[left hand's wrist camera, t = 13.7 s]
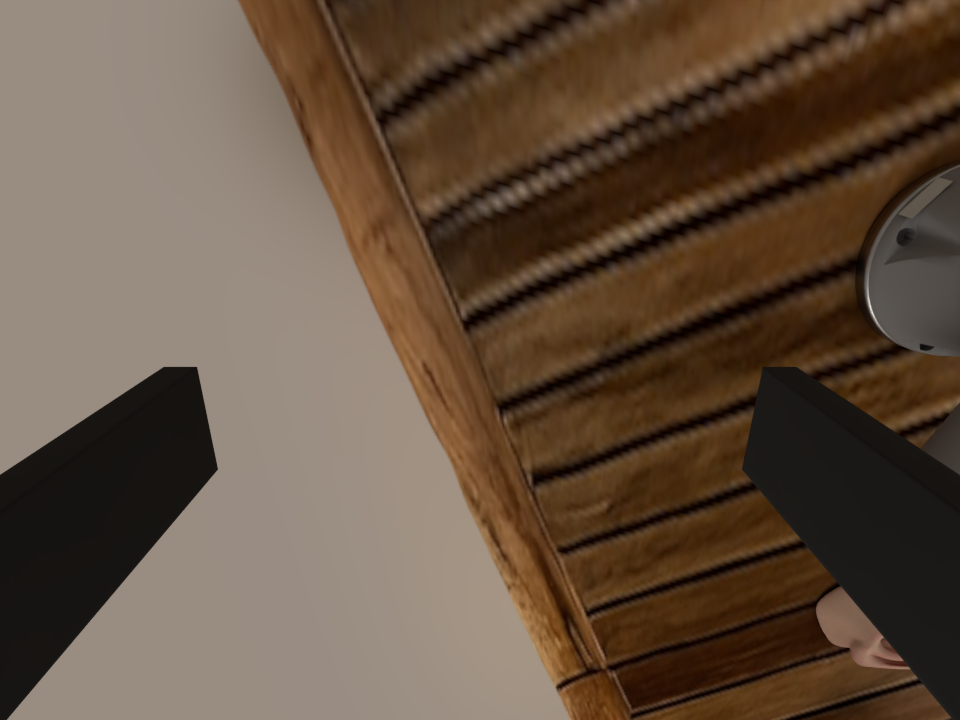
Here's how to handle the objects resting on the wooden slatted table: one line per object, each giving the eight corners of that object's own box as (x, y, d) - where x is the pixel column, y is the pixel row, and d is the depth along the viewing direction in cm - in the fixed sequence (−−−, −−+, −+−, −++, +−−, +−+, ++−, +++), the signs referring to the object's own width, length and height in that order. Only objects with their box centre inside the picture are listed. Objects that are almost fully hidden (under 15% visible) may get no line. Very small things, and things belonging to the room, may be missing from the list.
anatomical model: (817, 650, 52) (914, 576, 49) (795, 617, 56) (883, 546, 53) (903, 706, 55) (1000, 639, 52) (876, 671, 59) (965, 607, 55)
